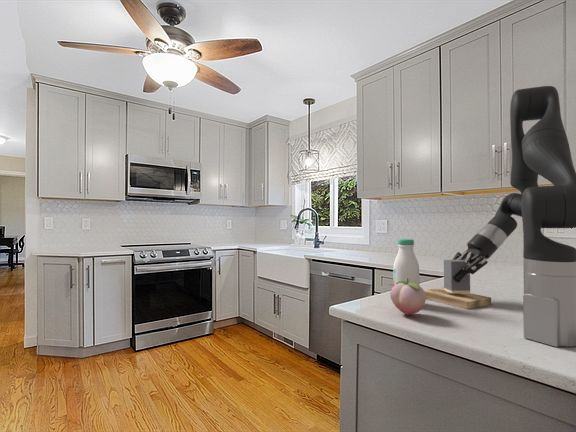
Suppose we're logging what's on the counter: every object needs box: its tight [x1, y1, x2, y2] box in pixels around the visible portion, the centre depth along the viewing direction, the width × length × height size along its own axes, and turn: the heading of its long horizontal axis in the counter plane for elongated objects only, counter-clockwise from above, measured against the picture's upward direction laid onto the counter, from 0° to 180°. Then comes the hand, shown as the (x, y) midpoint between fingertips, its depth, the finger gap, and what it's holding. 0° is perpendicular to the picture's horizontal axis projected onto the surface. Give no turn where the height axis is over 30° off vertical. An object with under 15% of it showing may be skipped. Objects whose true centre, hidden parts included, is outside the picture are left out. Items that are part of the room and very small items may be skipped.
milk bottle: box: [392, 238, 421, 288], centre depth 100 cm, size 8×8×20 cm
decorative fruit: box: [389, 278, 427, 316], centre depth 88 cm, size 9×8×10 cm
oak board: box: [423, 287, 492, 310], centre depth 104 cm, size 12×17×2 cm
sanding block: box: [443, 259, 471, 293], centre depth 104 cm, size 6×4×10 cm
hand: (450, 278), depth 104 cm, fingers closed on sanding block, 4 cm apart
